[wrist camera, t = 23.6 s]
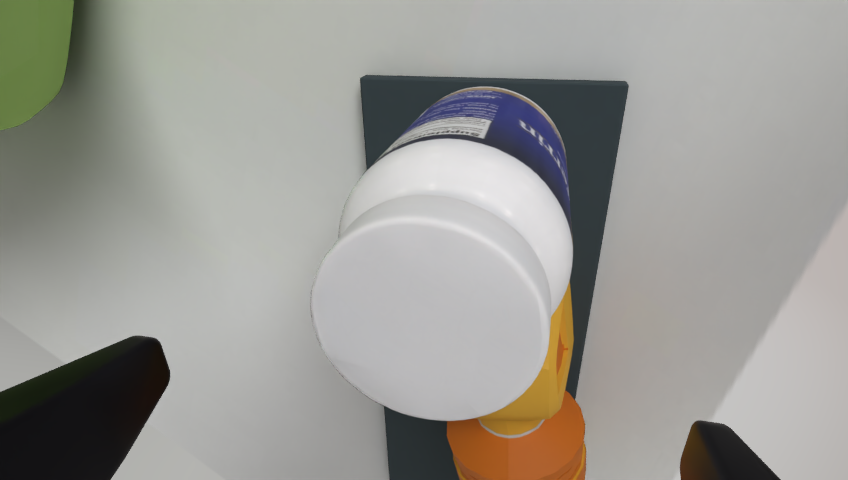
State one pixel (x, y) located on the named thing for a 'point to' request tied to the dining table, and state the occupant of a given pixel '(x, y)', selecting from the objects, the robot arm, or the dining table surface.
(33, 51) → the teapot
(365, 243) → the pill bottle
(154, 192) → the dining table surface
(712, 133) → the dining table surface
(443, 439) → the mat
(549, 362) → the multicoloured piece
